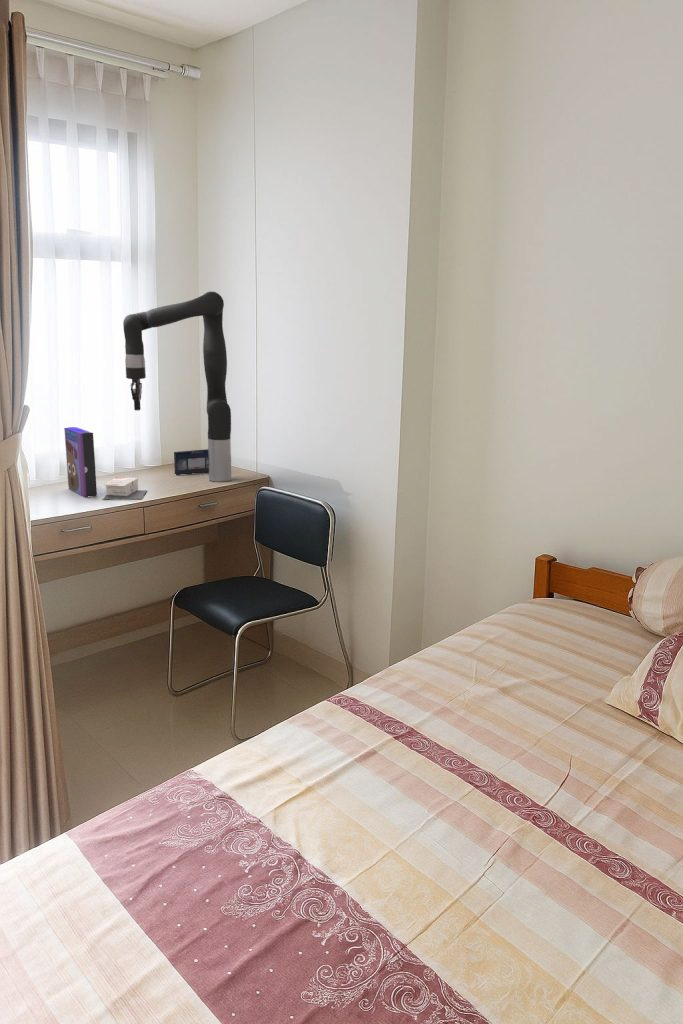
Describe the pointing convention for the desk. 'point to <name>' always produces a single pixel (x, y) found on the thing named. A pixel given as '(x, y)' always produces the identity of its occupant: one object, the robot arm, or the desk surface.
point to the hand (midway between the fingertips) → (137, 410)
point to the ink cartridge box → (121, 486)
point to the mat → (135, 495)
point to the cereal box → (80, 461)
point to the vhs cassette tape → (191, 462)
